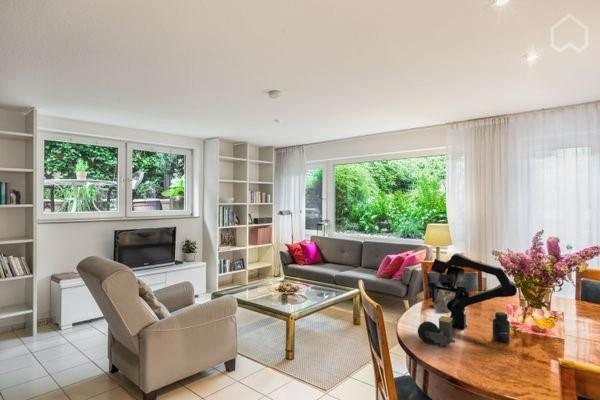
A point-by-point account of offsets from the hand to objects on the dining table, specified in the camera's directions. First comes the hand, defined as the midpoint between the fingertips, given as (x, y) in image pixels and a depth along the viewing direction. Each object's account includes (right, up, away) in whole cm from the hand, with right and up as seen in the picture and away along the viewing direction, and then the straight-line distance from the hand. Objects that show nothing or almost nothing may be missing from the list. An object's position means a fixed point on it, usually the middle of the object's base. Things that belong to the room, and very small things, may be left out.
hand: (442, 304), depth 167 cm
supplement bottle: (+22, -13, -10) cm, 28 cm away
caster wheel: (-8, -14, -13) cm, 20 cm away
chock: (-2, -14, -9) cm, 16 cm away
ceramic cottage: (+17, -14, +40) cm, 46 cm away
